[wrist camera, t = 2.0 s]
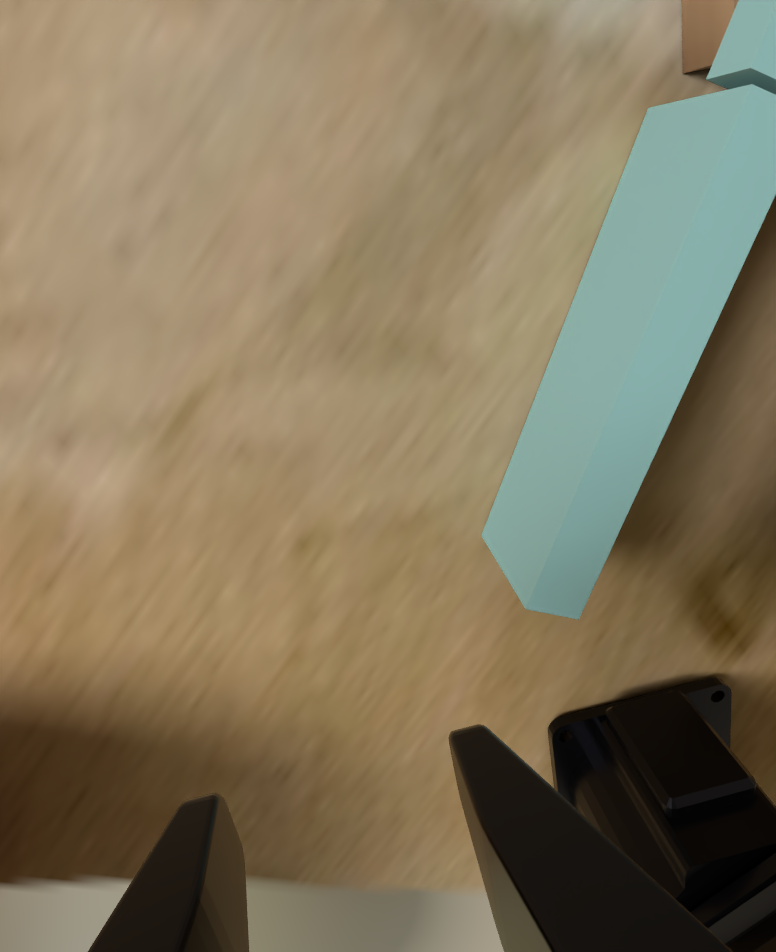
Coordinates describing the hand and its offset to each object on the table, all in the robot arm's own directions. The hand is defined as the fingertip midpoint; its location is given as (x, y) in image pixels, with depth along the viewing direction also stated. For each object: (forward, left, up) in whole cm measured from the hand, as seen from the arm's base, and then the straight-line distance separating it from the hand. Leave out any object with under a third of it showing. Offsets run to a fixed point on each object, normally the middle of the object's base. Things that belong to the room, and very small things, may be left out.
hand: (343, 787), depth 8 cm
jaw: (+2, -9, -12) cm, 15 cm away
